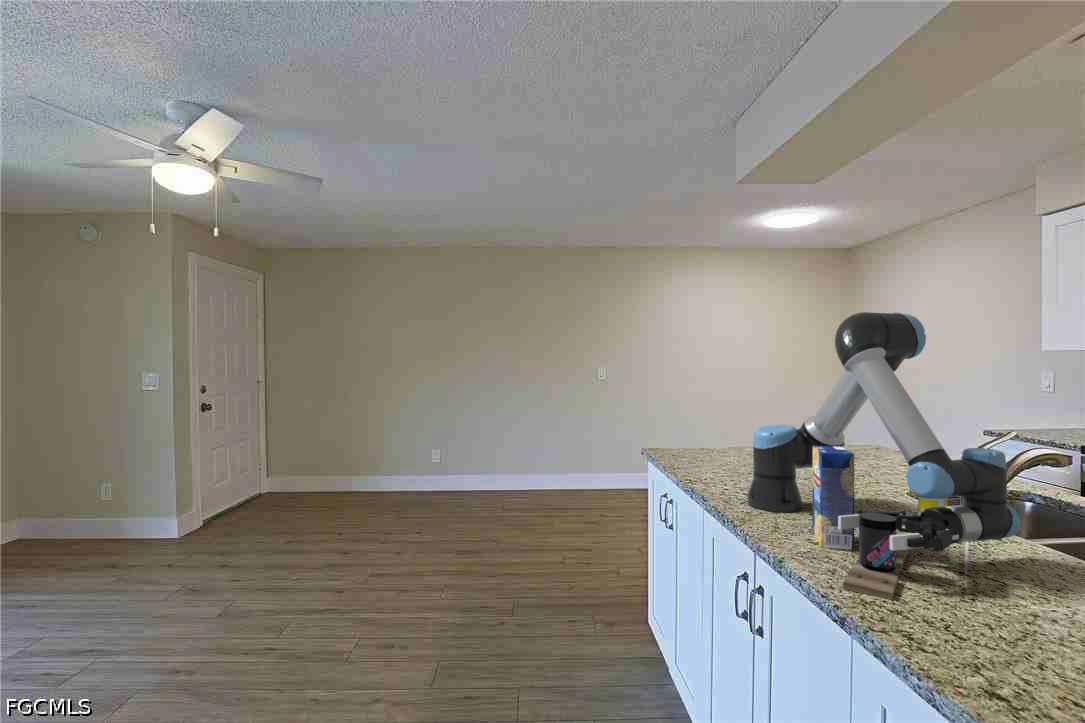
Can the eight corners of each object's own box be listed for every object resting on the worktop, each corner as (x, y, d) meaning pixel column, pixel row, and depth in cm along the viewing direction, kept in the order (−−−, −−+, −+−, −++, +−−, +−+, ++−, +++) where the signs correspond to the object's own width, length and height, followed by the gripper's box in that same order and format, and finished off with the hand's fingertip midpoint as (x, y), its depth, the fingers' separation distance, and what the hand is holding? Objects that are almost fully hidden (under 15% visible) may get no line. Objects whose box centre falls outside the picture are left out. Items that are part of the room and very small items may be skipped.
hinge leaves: (892, 599, 102) (892, 592, 102) (843, 588, 107) (843, 581, 107) (906, 555, 124) (906, 549, 124) (865, 548, 129) (865, 542, 129)
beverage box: (842, 535, 139) (842, 446, 138) (854, 550, 128) (854, 454, 128) (812, 533, 140) (812, 445, 140) (821, 547, 130) (821, 452, 130)
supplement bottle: (938, 514, 156) (938, 468, 156) (953, 521, 150) (953, 473, 150) (912, 513, 157) (913, 467, 157) (926, 520, 151) (926, 472, 150)
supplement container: (858, 569, 114) (858, 518, 114) (858, 559, 120) (858, 510, 120) (897, 575, 111) (897, 523, 111) (896, 565, 117) (896, 515, 117)
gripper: (1008, 563, 107) (916, 573, 103) (899, 525, 132) (821, 531, 127) (1008, 524, 107) (916, 532, 103) (899, 493, 132) (821, 498, 127)
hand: (863, 532), depth 115 cm, fingers open, 13 cm apart
